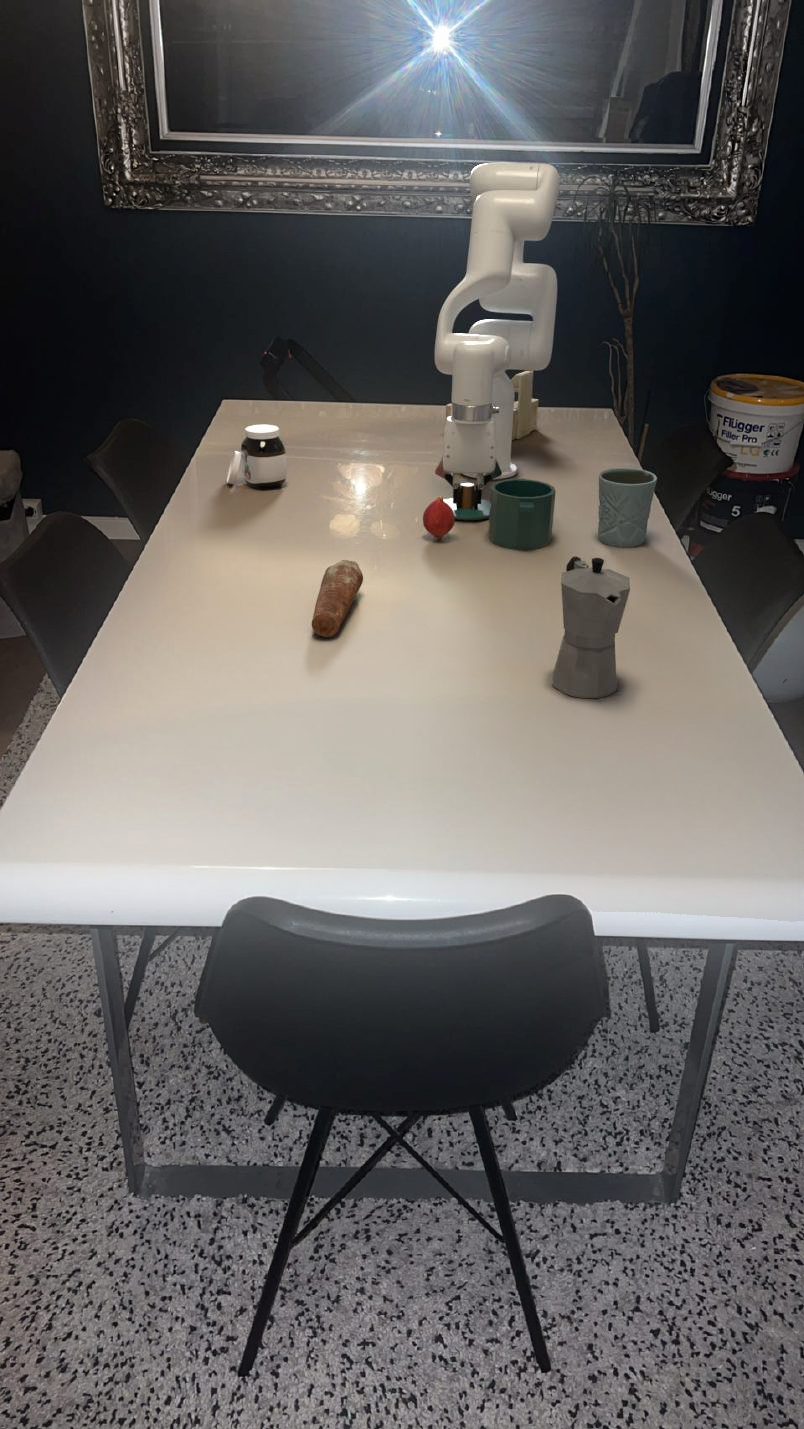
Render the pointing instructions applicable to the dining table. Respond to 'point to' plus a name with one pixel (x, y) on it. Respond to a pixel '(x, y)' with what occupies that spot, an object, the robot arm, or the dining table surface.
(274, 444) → the spread jar
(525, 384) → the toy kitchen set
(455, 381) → the robot arm
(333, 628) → the brown root vegetable
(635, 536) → the light blue cup
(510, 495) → the pot
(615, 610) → the coffeepot
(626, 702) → the dining table surface
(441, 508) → the onion
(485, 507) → the pot lid
